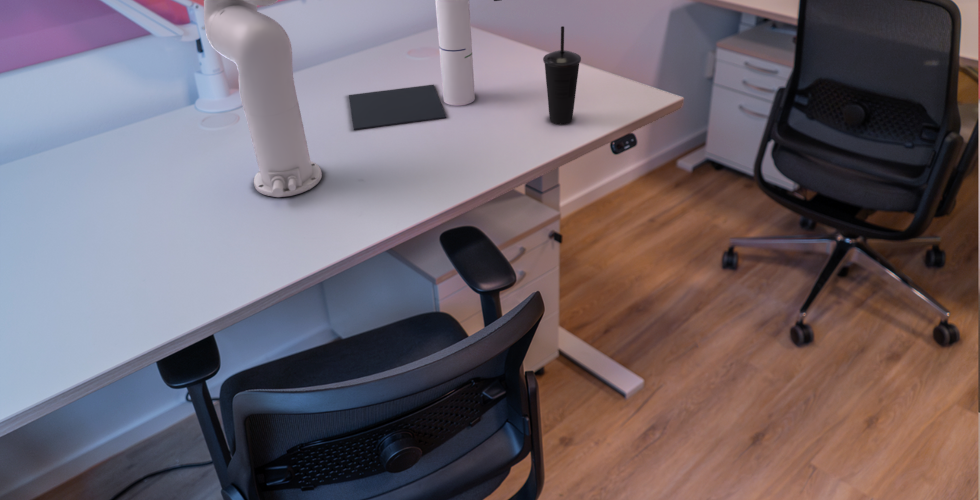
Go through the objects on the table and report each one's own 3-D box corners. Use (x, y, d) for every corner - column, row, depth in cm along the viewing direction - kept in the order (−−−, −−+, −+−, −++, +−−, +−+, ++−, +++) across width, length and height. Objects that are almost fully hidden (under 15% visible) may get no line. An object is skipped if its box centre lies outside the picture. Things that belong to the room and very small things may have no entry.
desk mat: (446, 118, 158) (446, 116, 158) (353, 130, 155) (353, 128, 155) (433, 86, 172) (433, 84, 172) (348, 96, 169) (348, 95, 169)
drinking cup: (578, 111, 158) (582, 20, 146) (579, 127, 152) (582, 33, 140) (543, 111, 159) (543, 20, 147) (542, 127, 152) (542, 33, 141)
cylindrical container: (438, 96, 167) (429, -15, 153) (467, 90, 170) (460, -20, 155) (450, 108, 162) (441, -6, 147) (479, 101, 164) (473, -12, 150)
